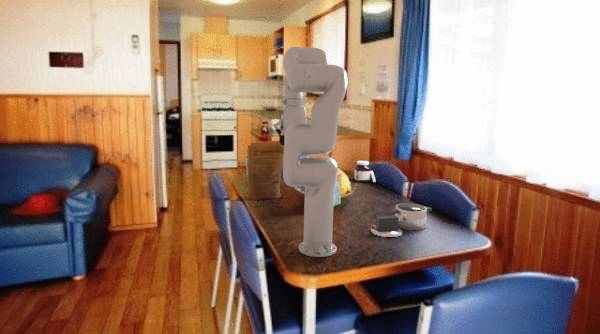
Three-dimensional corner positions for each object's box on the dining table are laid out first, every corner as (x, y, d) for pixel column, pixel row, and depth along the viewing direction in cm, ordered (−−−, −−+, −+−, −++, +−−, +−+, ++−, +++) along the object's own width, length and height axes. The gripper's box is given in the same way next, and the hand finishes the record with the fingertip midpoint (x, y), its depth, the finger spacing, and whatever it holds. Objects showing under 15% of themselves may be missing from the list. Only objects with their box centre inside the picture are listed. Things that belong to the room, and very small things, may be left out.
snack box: (331, 202, 194) (332, 171, 191) (341, 204, 190) (342, 172, 187) (303, 211, 178) (304, 178, 175) (313, 214, 174) (314, 180, 171)
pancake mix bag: (286, 198, 197) (287, 141, 192) (248, 202, 190) (247, 142, 185) (281, 195, 204) (282, 139, 198) (244, 198, 197) (244, 140, 191)
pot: (437, 228, 159) (439, 210, 158) (398, 232, 154) (399, 212, 153) (420, 219, 170) (421, 201, 169) (383, 222, 166) (384, 204, 164)
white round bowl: (408, 236, 150) (409, 220, 149) (379, 239, 147) (380, 223, 146) (392, 226, 161) (393, 211, 160) (365, 228, 158) (366, 213, 157)
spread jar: (352, 179, 242) (353, 160, 240) (369, 178, 245) (370, 159, 243) (361, 184, 231) (362, 164, 229) (379, 183, 234) (380, 163, 232)
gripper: (277, 103, 160) (276, 146, 164) (316, 103, 167) (315, 144, 170) (270, 102, 167) (270, 143, 170) (309, 102, 174) (308, 142, 177)
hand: (293, 144), depth 170 cm, fingers open, 9 cm apart
